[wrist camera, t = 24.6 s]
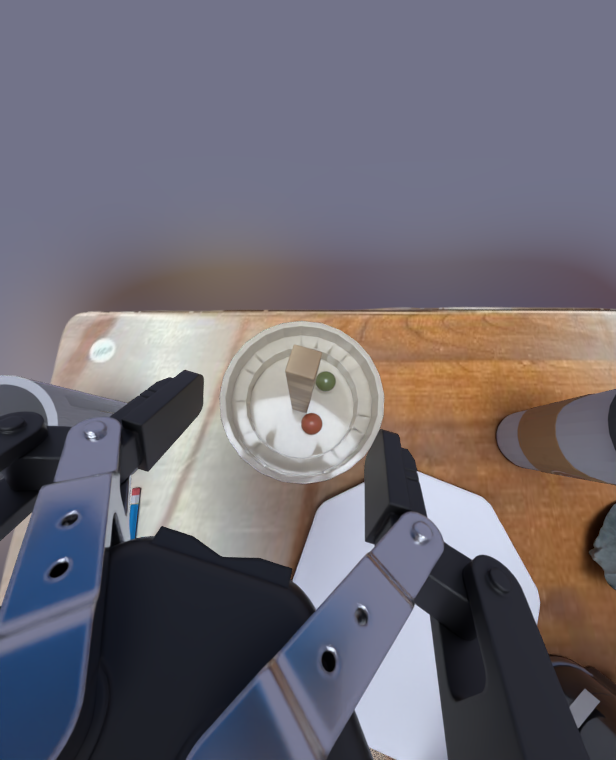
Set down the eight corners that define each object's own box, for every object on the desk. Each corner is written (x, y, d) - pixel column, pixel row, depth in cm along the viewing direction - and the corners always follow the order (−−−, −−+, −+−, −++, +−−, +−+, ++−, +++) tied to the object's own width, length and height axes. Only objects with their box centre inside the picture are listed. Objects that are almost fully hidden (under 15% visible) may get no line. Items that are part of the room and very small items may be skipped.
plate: (255, 680, 25) (253, 694, 23) (339, 441, 31) (341, 441, 29) (499, 792, 24) (512, 815, 22) (539, 520, 29) (552, 524, 28)
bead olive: (332, 372, 32) (335, 367, 30) (336, 392, 31) (339, 387, 29) (313, 375, 32) (314, 370, 29) (316, 394, 31) (317, 390, 29)
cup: (50, 465, 29) (-118, 479, 17) (96, 390, 31) (-25, 357, 19) (123, 498, 28) (1, 535, 17) (166, 419, 30) (84, 403, 19)
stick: (310, 398, 31) (322, 351, 16) (306, 413, 31) (314, 380, 15) (296, 394, 31) (293, 343, 16) (291, 409, 31) (284, 371, 15)
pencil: (142, 487, 29) (138, 488, 28) (121, 682, 25) (116, 689, 24) (134, 488, 29) (130, 488, 28) (112, 683, 25) (107, 689, 24)
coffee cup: (490, 475, 30) (669, 503, 16) (482, 403, 32) (633, 368, 18) (561, 479, 30) (803, 509, 16) (548, 407, 32) (752, 375, 18)
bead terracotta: (326, 414, 30) (315, 428, 31) (308, 405, 29) (297, 419, 30) (326, 428, 28) (314, 442, 29) (307, 418, 27) (295, 433, 28)
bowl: (355, 333, 34) (365, 312, 29) (382, 464, 30) (400, 468, 25) (228, 350, 33) (214, 331, 27) (240, 487, 29) (226, 497, 24)
